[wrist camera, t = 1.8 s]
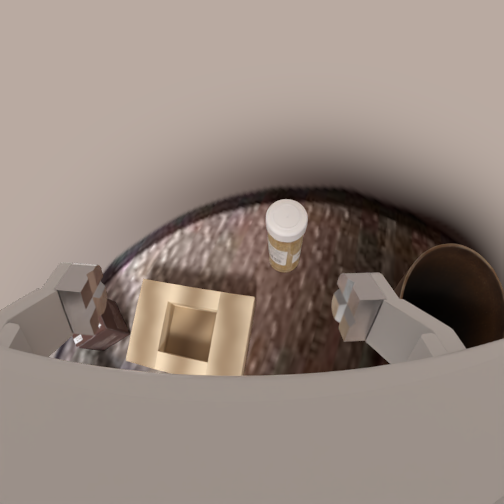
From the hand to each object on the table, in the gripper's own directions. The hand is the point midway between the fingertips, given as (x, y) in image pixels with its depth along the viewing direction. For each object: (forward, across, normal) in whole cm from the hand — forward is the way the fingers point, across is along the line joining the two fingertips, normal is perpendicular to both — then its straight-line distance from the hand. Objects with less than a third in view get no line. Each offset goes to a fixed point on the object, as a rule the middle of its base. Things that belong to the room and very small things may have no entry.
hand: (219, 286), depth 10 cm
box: (+24, +17, +27) cm, 40 cm away
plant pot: (+18, -26, +22) cm, 39 cm away
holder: (+22, +3, +25) cm, 34 cm away
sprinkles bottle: (+29, -10, +17) cm, 35 cm away
